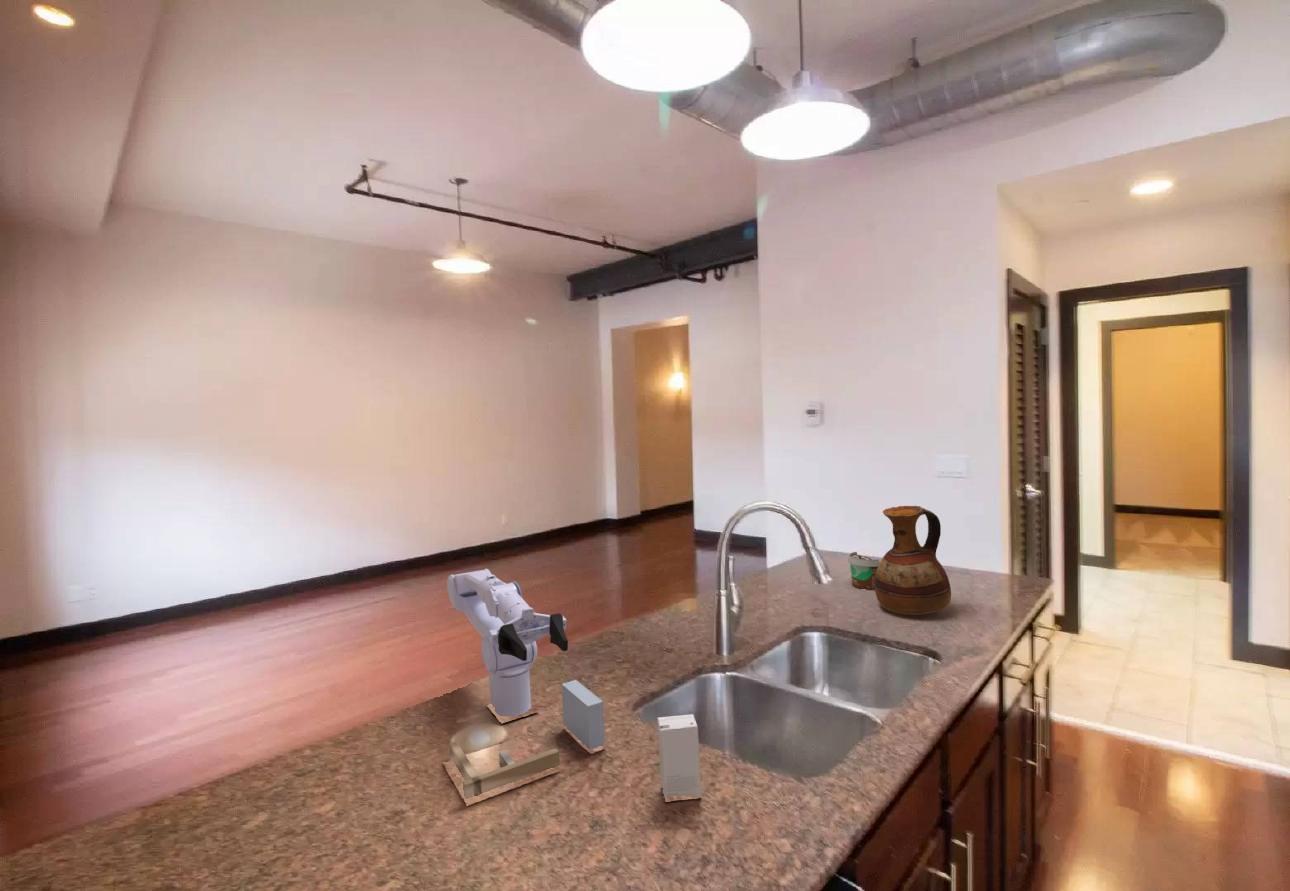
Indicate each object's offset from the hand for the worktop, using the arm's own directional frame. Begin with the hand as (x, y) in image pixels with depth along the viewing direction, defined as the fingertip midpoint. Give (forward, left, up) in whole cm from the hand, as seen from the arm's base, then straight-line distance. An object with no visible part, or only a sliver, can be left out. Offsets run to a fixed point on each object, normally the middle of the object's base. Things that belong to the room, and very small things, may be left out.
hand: (545, 650), depth 110 cm
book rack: (-2, -9, -19) cm, 21 cm away
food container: (-31, +121, -20) cm, 127 cm away
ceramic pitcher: (-8, +115, -20) cm, 117 cm away
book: (-2, +7, -19) cm, 21 cm away
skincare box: (+22, +12, -20) cm, 32 cm away
